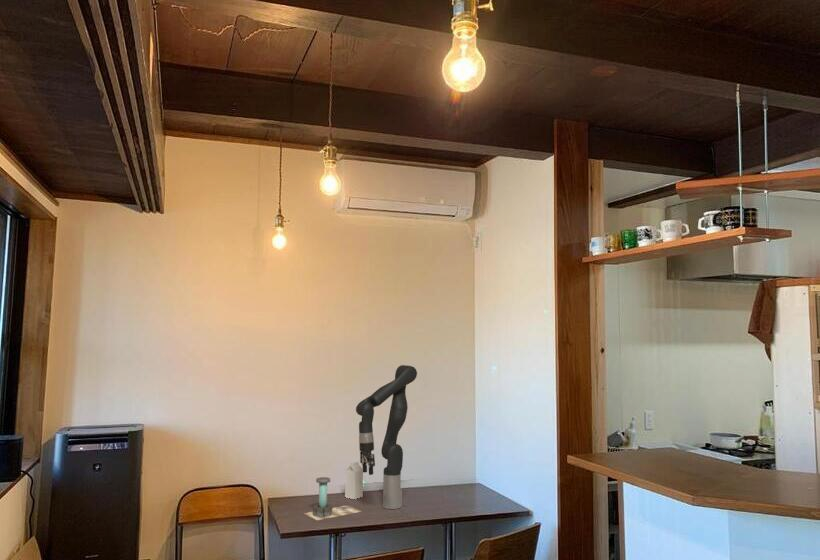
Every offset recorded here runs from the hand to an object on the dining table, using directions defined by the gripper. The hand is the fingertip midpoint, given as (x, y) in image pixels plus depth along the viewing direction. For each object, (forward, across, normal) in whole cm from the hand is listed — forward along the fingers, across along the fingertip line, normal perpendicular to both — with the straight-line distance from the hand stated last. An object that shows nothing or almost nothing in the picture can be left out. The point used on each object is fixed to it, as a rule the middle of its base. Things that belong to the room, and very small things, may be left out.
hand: (368, 473), depth 312 cm
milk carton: (+18, +32, -3) cm, 37 cm away
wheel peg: (+17, +3, +24) cm, 30 cm away
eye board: (+19, +4, +18) cm, 27 cm away
